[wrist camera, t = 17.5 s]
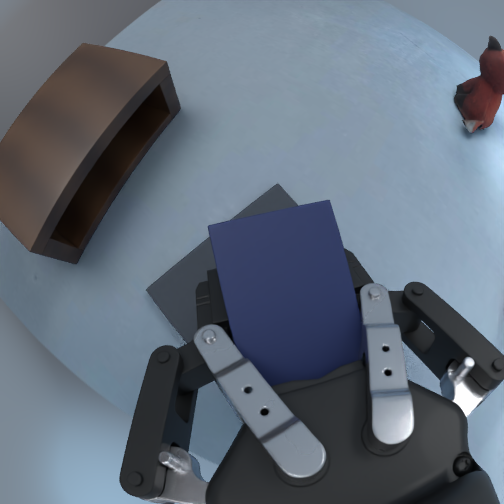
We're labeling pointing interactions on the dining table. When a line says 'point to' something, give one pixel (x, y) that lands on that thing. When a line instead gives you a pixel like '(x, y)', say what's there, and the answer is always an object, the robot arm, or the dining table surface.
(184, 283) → the mat
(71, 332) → the dining table surface
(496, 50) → the stuffed fox
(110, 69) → the shelf
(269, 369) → the tea box
